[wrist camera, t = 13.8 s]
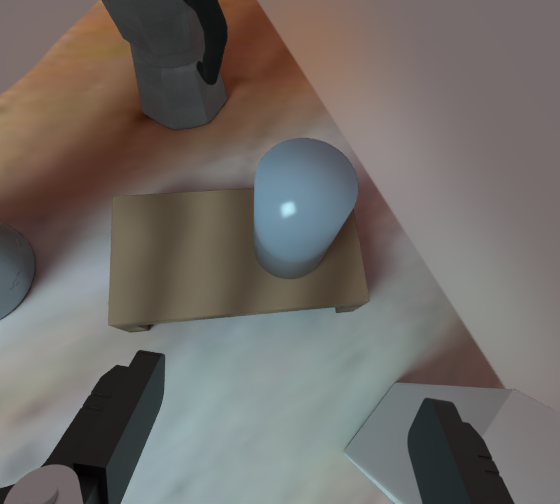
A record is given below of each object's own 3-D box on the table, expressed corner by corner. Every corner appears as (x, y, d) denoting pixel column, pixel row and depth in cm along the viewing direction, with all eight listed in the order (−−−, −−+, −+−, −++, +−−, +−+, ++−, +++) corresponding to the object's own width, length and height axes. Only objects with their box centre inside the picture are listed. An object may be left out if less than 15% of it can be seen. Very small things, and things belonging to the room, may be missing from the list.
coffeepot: (109, 71, 39) (-1, -165, 22) (186, 33, 41) (141, -207, 24) (191, 179, 36) (137, 2, 19) (270, 132, 38) (286, -65, 21)
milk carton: (341, 452, 29) (484, 576, 11) (394, 381, 31) (588, 392, 13) (413, 521, 28) (697, 780, 10) (463, 443, 30) (776, 547, 12)
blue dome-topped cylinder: (256, 282, 28) (259, 235, 19) (250, 214, 30) (250, 140, 20) (328, 276, 29) (366, 227, 19) (318, 210, 30) (349, 135, 21)
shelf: (130, 332, 31) (108, 325, 26) (131, 221, 34) (112, 196, 29) (352, 311, 33) (369, 300, 28) (335, 207, 36) (348, 182, 31)
